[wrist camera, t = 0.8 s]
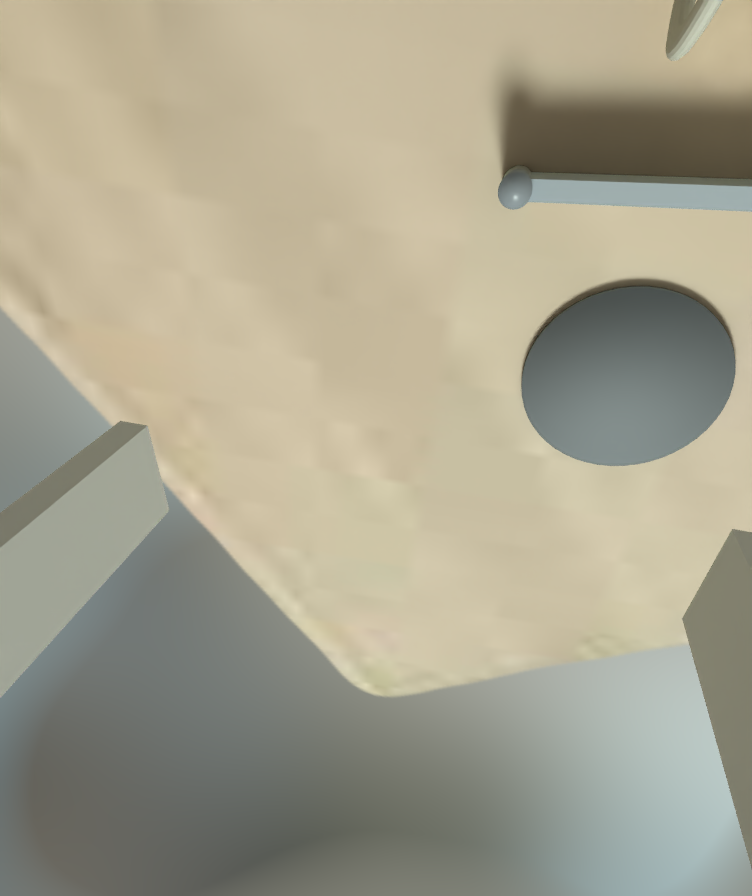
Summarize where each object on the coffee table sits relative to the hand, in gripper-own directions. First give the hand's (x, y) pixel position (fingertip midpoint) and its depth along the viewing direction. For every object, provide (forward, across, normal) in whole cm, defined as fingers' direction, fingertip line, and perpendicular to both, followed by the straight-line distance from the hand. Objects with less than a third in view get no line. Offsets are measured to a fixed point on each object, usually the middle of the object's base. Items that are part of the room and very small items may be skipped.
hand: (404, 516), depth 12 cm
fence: (+23, +9, +5) cm, 26 cm away
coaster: (+23, +9, -6) cm, 26 cm away
